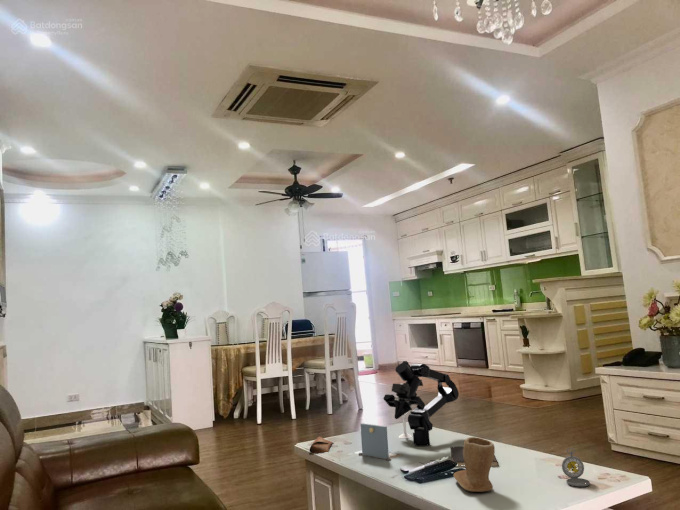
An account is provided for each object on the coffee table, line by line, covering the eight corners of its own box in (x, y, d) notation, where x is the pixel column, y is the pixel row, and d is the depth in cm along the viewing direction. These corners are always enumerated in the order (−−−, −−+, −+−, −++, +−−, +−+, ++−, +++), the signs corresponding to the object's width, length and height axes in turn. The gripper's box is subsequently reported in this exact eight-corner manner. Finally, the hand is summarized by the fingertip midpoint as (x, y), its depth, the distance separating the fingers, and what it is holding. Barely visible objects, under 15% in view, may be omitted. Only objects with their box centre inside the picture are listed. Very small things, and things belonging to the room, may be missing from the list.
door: (364, 453, 207) (362, 423, 209) (388, 458, 198) (386, 426, 200) (360, 455, 206) (358, 424, 207) (385, 459, 197) (382, 427, 198)
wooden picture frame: (375, 452, 214) (374, 448, 214) (404, 458, 202) (404, 453, 203) (358, 457, 207) (358, 453, 207) (388, 463, 196) (388, 458, 196)
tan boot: (503, 493, 155) (498, 442, 157) (464, 496, 155) (459, 444, 157) (489, 479, 170) (484, 432, 172) (453, 481, 170) (449, 434, 172)
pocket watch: (580, 489, 155) (576, 454, 156) (557, 482, 162) (553, 449, 164) (598, 484, 159) (594, 450, 160) (574, 477, 166) (571, 445, 168)
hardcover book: (453, 468, 187) (452, 461, 187) (450, 452, 209) (450, 446, 210) (498, 467, 184) (498, 460, 185) (491, 451, 207) (490, 445, 207)
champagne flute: (397, 438, 237) (394, 385, 240) (398, 435, 243) (394, 383, 247) (412, 438, 236) (408, 384, 239) (412, 435, 242) (409, 383, 246)
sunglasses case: (329, 452, 218) (320, 438, 219) (315, 461, 218) (307, 448, 219) (334, 442, 236) (326, 430, 237) (321, 451, 236) (313, 438, 237)
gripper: (384, 375, 226) (369, 404, 217) (418, 376, 213) (403, 408, 204) (397, 391, 231) (382, 420, 221) (431, 393, 217) (417, 425, 208)
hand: (395, 418), depth 214 cm, fingers closed
